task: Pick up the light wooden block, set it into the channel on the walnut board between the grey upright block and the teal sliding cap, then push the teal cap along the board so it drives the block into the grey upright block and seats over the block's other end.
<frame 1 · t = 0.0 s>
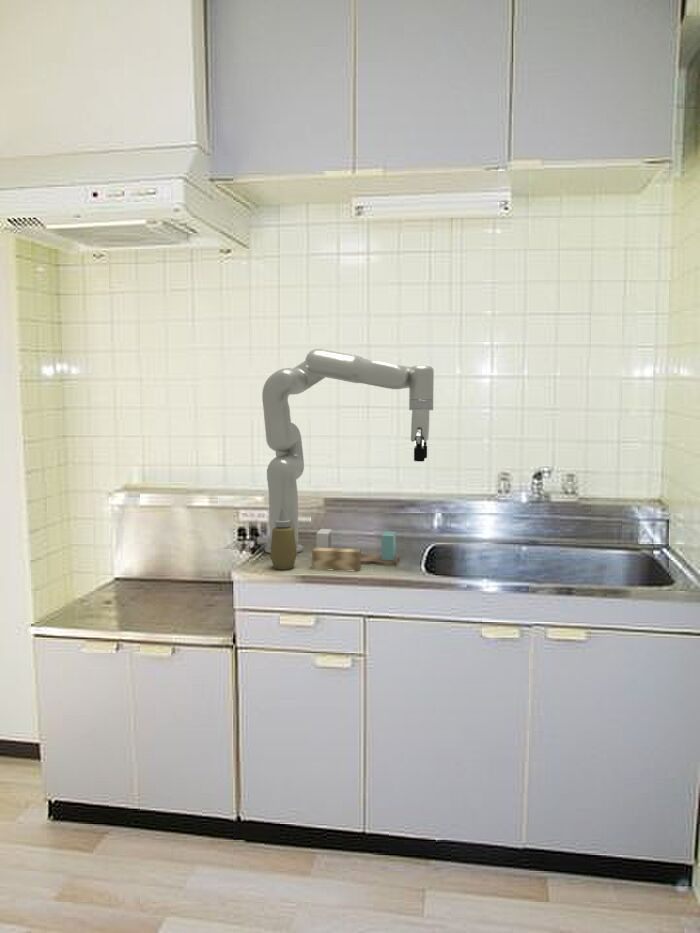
hand: (420, 459, 234), 31 cm above the counter, tool pointing down, fingers open, 9 cm apart
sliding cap: (388, 545, 230), point 5 cm above the counter, slide at 0.0 cm
squeeze bottle: (283, 568, 224), on the counter
grey upright block: (324, 558, 234), resting on walnut board
walnut board: (356, 560, 233), on the counter
light wooden block: (336, 569, 222), on the counter
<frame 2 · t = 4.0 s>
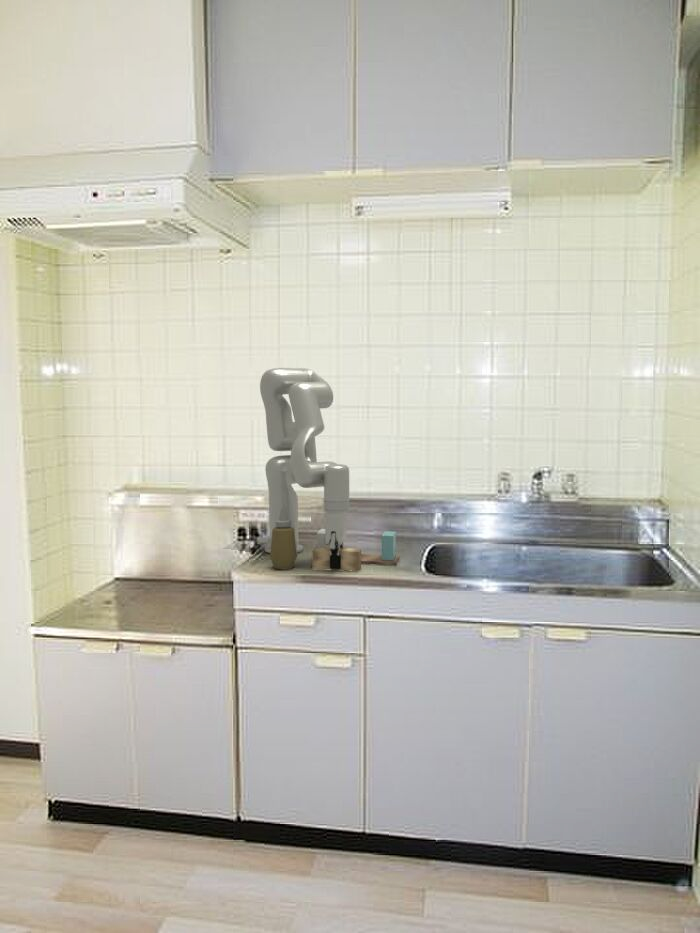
hand: (336, 565, 222), 1 cm above the counter, tool pointing down, fingers closed on light wooden block, 4 cm apart
light wooden block: (336, 568, 222), on the counter, touching gripper
everything else where it was.
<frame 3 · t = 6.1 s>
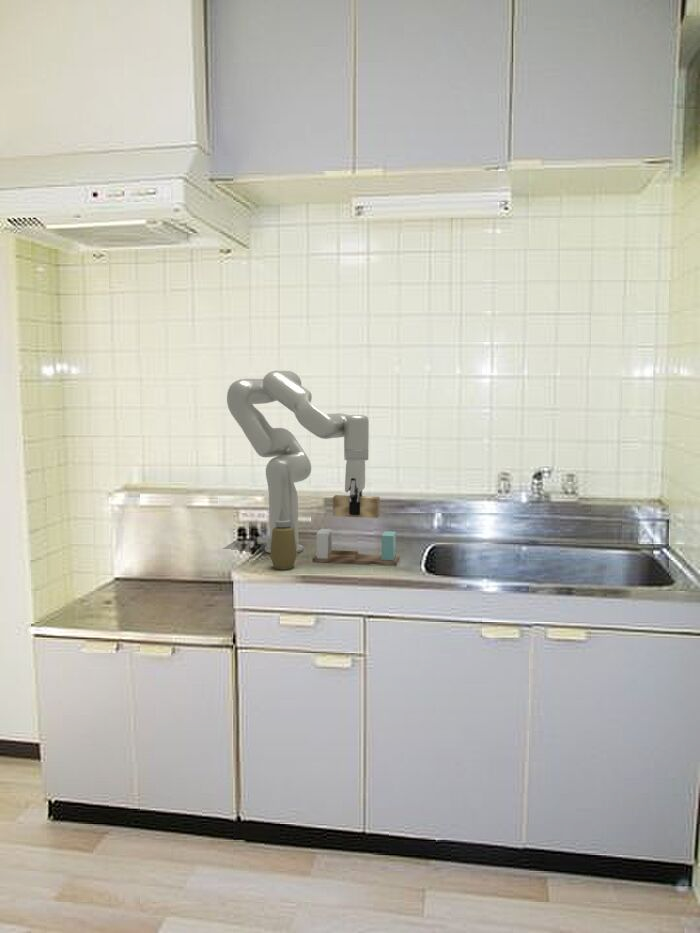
hand: (356, 512, 231), 15 cm above the counter, tool pointing down, fingers closed on light wooden block, 4 cm apart
light wooden block: (356, 515, 231), point 14 cm above the counter, touching gripper
everything else where it was.
when the fingers open (3 cm above the counter, at t = 8.6 s): light wooden block drops 1 cm, resting on walnut board.
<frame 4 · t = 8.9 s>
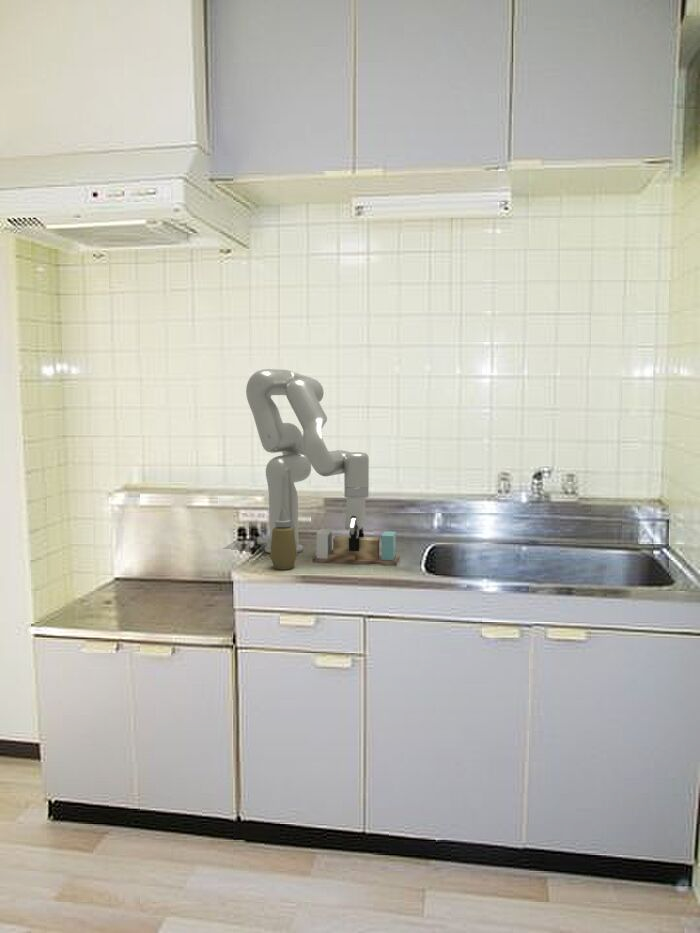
hand: (356, 547, 232), 4 cm above the counter, tool pointing down, fingers open, 7 cm apart
light wooden block: (356, 557, 233), point 1 cm above the counter, touching walnut board
everything else where it was.
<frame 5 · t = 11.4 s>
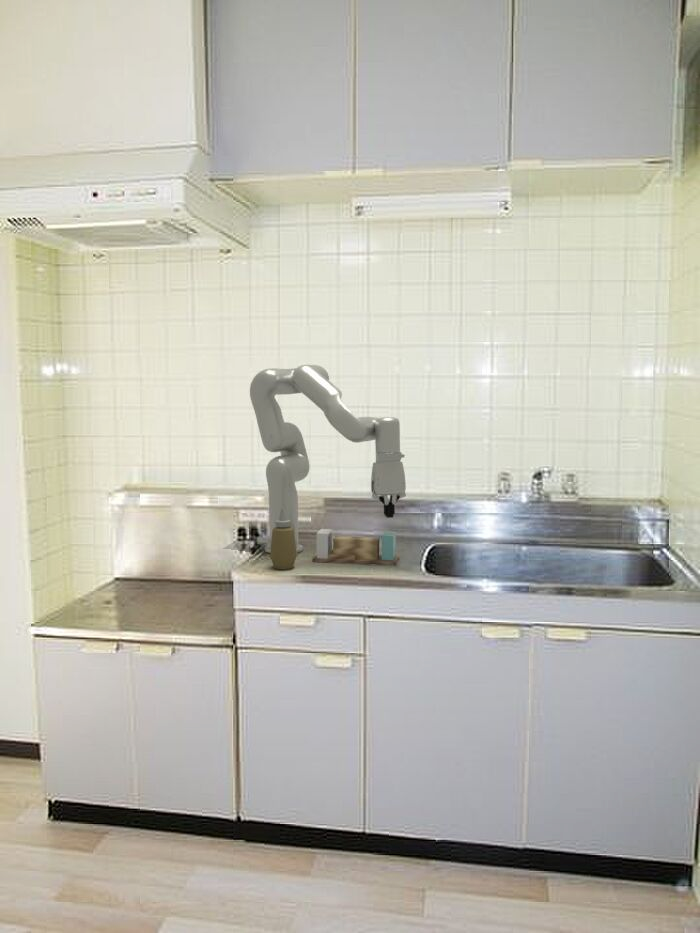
hand: (389, 516, 229), 14 cm above the counter, tool pointing down, fingers closed
nothing on the counter moved.
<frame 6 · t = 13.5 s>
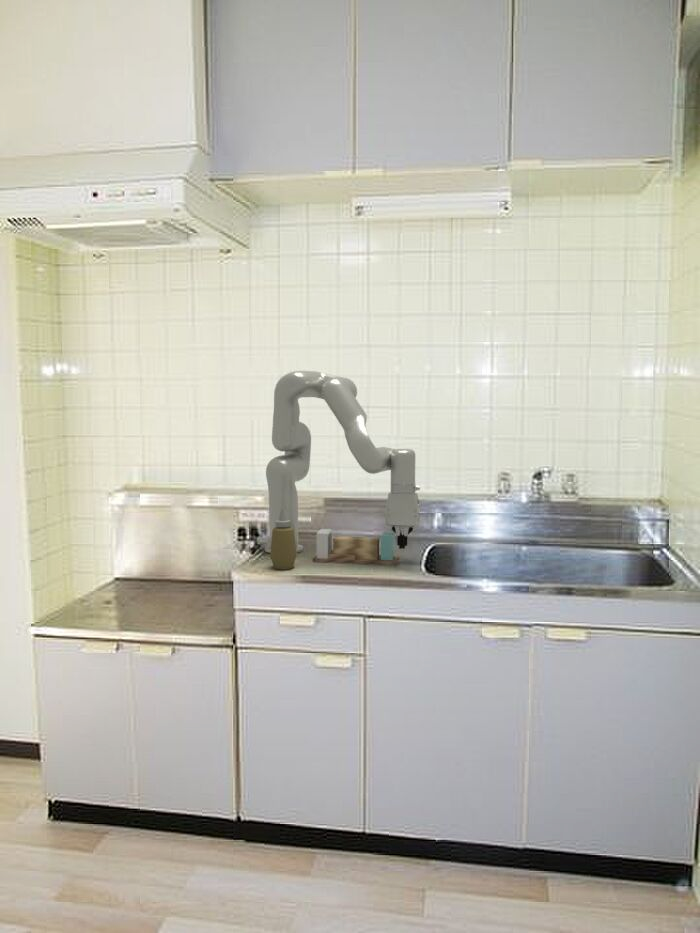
hand: (402, 547, 229), 5 cm above the counter, tool pointing down, fingers closed
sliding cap: (388, 545, 230), point 5 cm above the counter, slide at 0.3 cm, touching gripper
everything else where it was.
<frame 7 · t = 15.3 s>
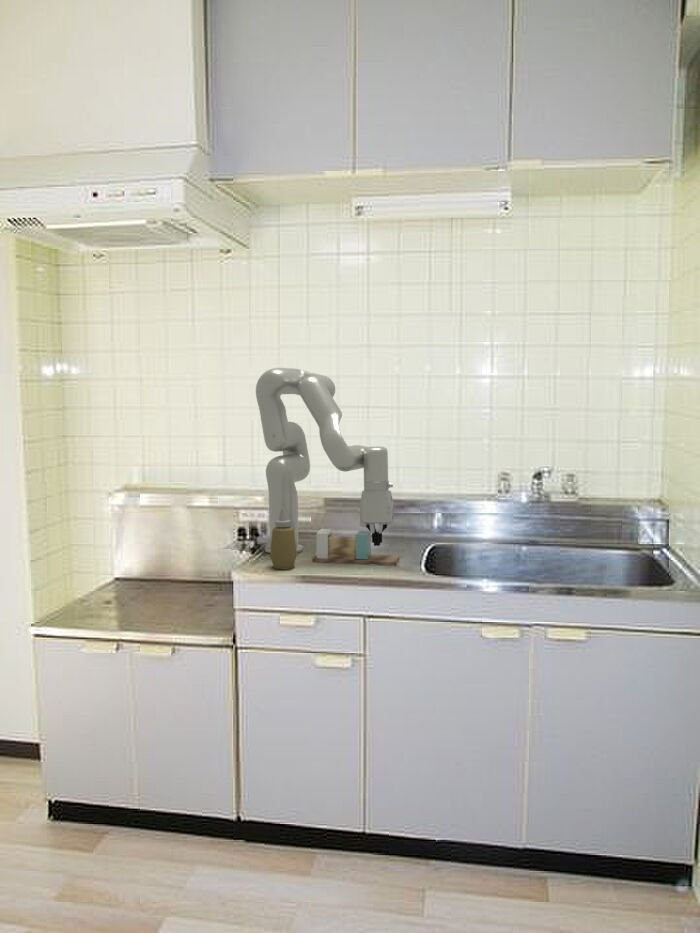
hand: (377, 545, 231), 5 cm above the counter, tool pointing down, fingers closed
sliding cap: (363, 544, 232), point 5 cm above the counter, slide at 8.0 cm, touching gripper, light wooden block
light wooden block: (343, 556, 233), point 1 cm above the counter, touching grey upright block, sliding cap, walnut board
everything else where it was.
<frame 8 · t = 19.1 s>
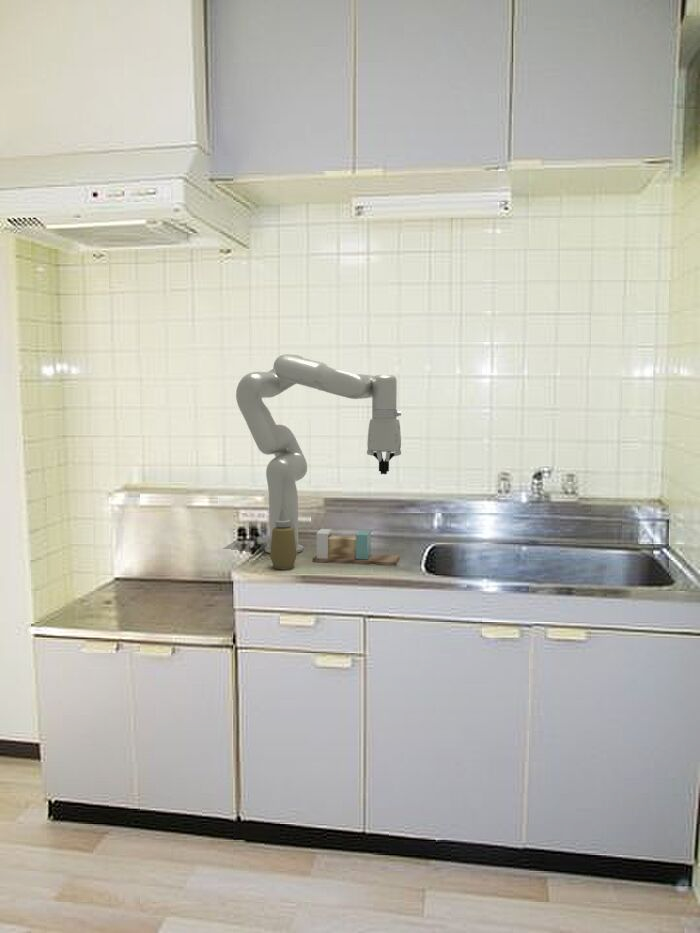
hand: (383, 473, 232), 27 cm above the counter, tool pointing down, fingers closed
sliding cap: (363, 544, 232), point 5 cm above the counter, slide at 8.0 cm
light wooden block: (343, 556, 233), point 1 cm above the counter, touching walnut board
everything else where it was.
at the end: light wooden block 0.5 cm from the target spot, point 1.0 cm above the counter; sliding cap slide at 8.0 cm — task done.
